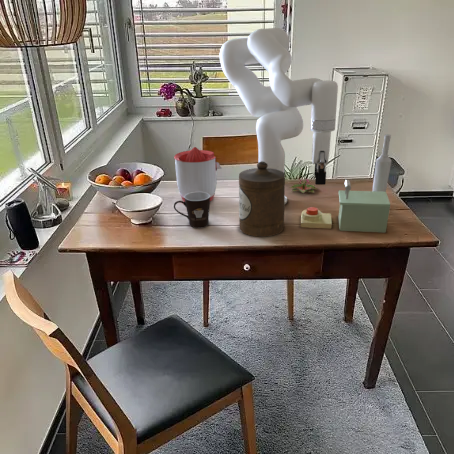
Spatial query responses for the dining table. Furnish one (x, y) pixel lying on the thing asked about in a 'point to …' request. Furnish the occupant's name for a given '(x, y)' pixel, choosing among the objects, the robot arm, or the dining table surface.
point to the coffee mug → (196, 208)
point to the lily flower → (303, 187)
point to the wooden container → (261, 201)
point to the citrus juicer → (196, 172)
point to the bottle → (382, 167)
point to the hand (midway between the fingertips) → (319, 179)
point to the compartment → (363, 218)
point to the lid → (362, 197)
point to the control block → (316, 220)
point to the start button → (312, 211)
